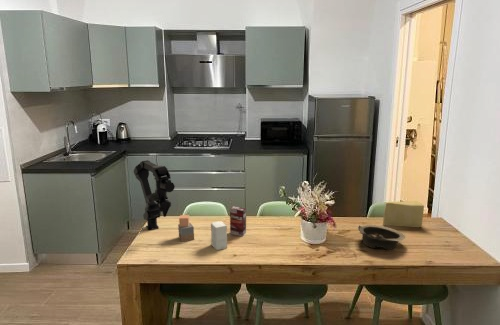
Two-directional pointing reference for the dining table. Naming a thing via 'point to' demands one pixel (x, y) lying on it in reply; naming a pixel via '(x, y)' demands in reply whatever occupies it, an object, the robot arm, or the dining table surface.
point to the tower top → (186, 229)
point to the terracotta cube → (184, 220)
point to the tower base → (186, 237)
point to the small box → (219, 235)
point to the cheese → (403, 213)
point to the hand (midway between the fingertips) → (162, 214)
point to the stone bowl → (380, 236)
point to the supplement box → (238, 221)
